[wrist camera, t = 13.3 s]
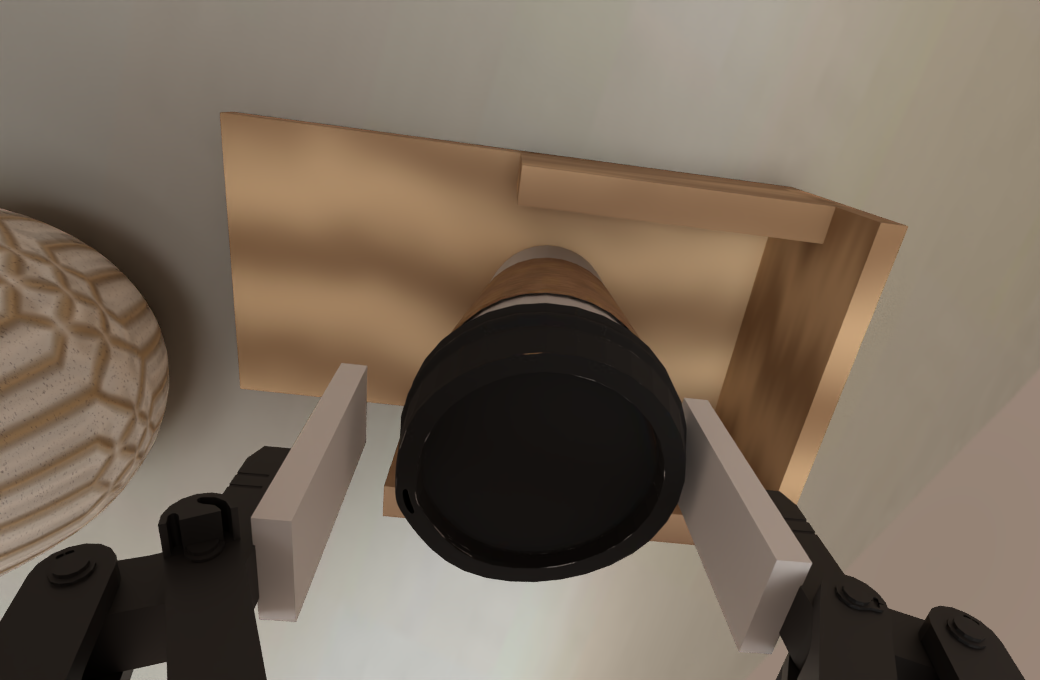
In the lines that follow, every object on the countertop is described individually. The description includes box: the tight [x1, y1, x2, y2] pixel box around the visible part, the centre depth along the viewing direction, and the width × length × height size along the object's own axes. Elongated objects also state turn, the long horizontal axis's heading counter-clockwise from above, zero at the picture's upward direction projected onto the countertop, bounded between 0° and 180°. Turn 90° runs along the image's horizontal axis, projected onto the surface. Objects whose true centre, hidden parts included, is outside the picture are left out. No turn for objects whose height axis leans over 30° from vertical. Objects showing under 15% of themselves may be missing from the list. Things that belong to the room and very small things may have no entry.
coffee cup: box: [395, 245, 687, 582], centre depth 22 cm, size 8×8×15 cm
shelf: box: [220, 112, 908, 545], centre depth 25 cm, size 14×27×10 cm, turn 83°
